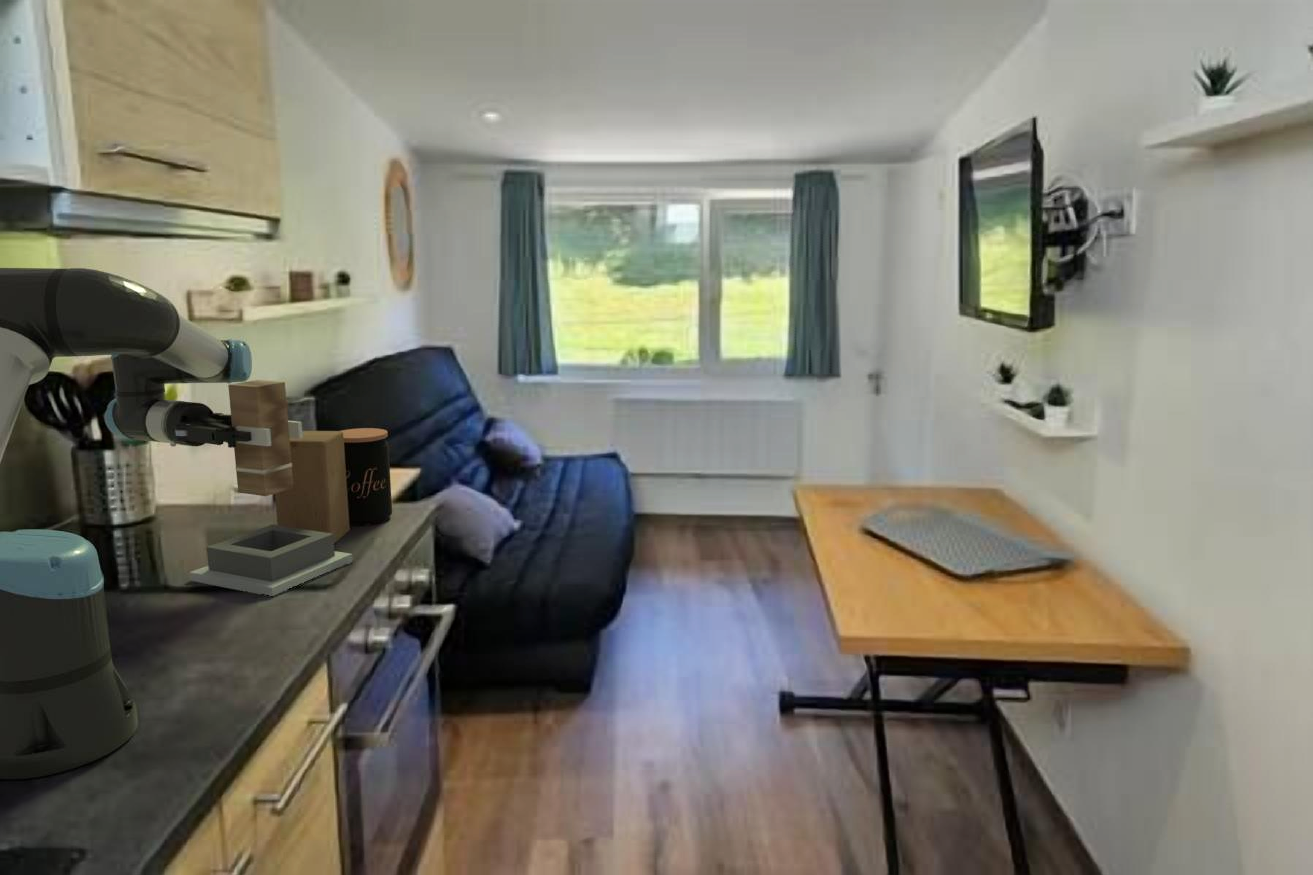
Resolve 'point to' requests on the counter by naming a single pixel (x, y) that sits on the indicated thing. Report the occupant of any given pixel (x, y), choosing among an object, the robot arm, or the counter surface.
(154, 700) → the counter surface
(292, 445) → the wooden block
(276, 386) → the walnut peg
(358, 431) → the coffee jar
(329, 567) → the socket board
